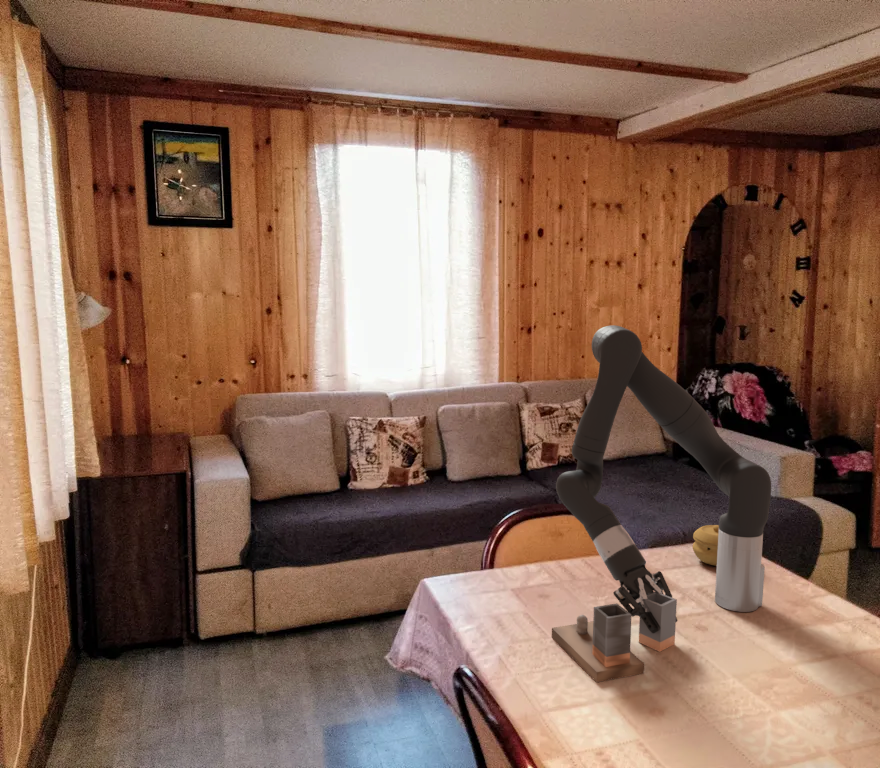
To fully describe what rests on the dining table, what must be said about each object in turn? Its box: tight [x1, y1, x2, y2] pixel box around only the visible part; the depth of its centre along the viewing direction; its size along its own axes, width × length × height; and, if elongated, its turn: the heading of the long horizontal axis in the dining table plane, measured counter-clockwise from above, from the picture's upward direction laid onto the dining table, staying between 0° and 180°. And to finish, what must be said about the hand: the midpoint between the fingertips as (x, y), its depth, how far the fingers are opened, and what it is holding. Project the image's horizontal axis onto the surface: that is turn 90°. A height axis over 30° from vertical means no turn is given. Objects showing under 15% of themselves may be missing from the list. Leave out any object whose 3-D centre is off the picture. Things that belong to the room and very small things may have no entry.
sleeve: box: [638, 591, 677, 653], centre depth 147 cm, size 5×5×10 cm
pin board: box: [551, 603, 645, 683], centre depth 143 cm, size 10×18×12 cm, turn 18°
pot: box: [692, 524, 719, 567], centre depth 189 cm, size 12×12×10 cm
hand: (665, 627), depth 146 cm, fingers closed on sleeve, 5 cm apart
